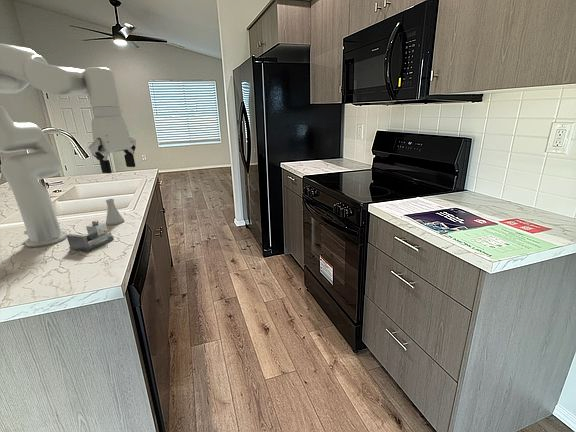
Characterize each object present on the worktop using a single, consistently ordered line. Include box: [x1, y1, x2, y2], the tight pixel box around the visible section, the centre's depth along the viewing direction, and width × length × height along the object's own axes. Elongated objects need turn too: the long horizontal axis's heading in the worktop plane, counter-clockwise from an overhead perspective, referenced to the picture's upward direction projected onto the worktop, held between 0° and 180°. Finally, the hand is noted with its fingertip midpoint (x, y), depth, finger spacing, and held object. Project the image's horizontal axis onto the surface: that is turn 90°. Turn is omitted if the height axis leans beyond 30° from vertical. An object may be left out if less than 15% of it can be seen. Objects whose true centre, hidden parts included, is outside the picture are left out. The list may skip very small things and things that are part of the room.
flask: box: [105, 198, 125, 226], centre depth 130 cm, size 7×7×10 cm
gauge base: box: [66, 231, 115, 253], centre depth 109 cm, size 11×8×6 cm
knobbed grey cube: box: [85, 220, 109, 239], centre depth 111 cm, size 4×6×6 cm, turn 74°
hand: (119, 169), depth 99 cm, fingers open, 9 cm apart
